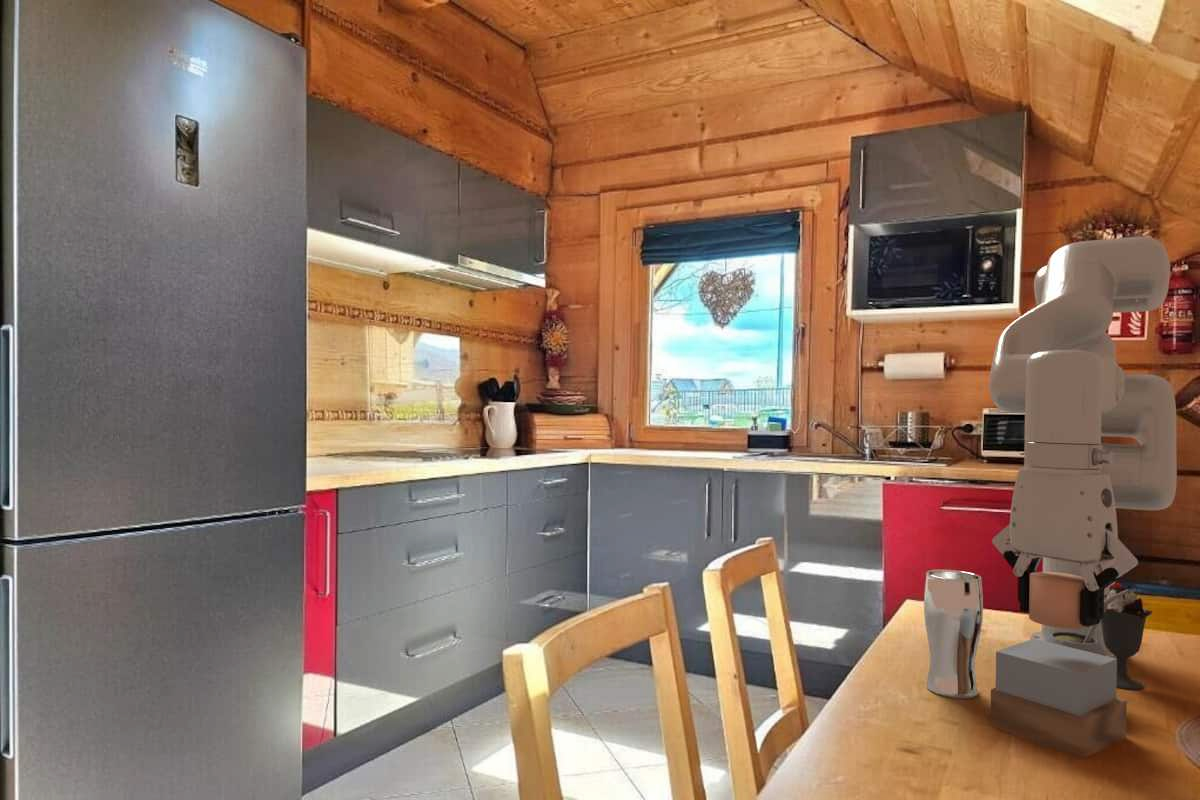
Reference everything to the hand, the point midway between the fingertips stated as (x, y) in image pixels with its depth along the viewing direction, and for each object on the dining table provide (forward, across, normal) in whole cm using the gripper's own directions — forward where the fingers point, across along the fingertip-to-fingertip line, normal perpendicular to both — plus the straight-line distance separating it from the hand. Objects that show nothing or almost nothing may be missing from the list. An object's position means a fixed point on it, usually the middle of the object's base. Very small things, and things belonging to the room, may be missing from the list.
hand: (1059, 615), depth 90 cm
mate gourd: (+13, +4, -12) cm, 18 cm away
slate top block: (+9, 0, 0) cm, 9 cm away
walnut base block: (+14, 0, 0) cm, 14 cm away
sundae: (+13, +4, -24) cm, 28 cm away
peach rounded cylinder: (+1, 0, 0) cm, 1 cm away
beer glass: (+13, +14, -2) cm, 19 cm away
